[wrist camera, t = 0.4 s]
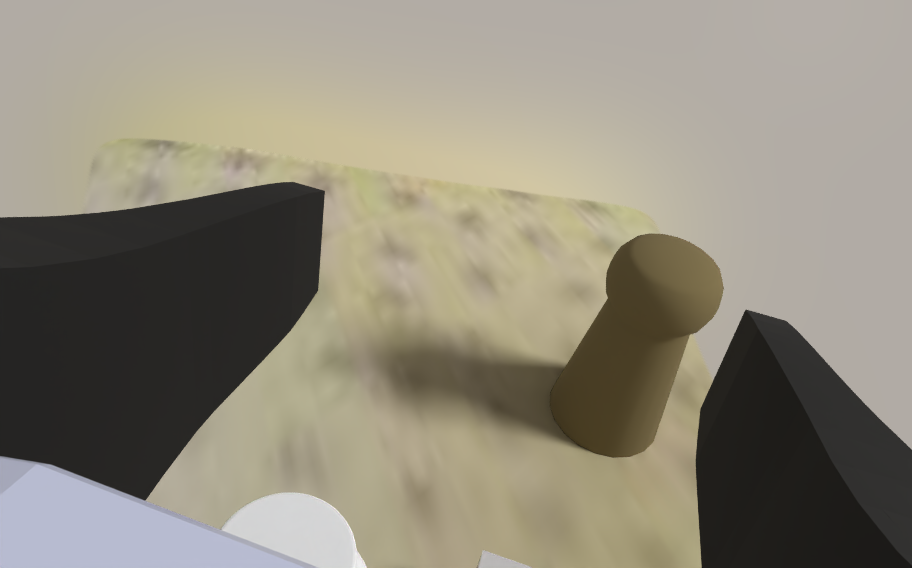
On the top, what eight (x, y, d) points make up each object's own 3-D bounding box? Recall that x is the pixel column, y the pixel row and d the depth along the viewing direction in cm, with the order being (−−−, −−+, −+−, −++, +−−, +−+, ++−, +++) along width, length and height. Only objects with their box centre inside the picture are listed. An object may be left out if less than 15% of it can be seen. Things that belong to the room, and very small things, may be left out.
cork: (527, 393, 38) (583, 234, 30) (602, 355, 41) (669, 203, 34) (604, 476, 34) (688, 318, 27) (679, 428, 37) (771, 276, 30)
